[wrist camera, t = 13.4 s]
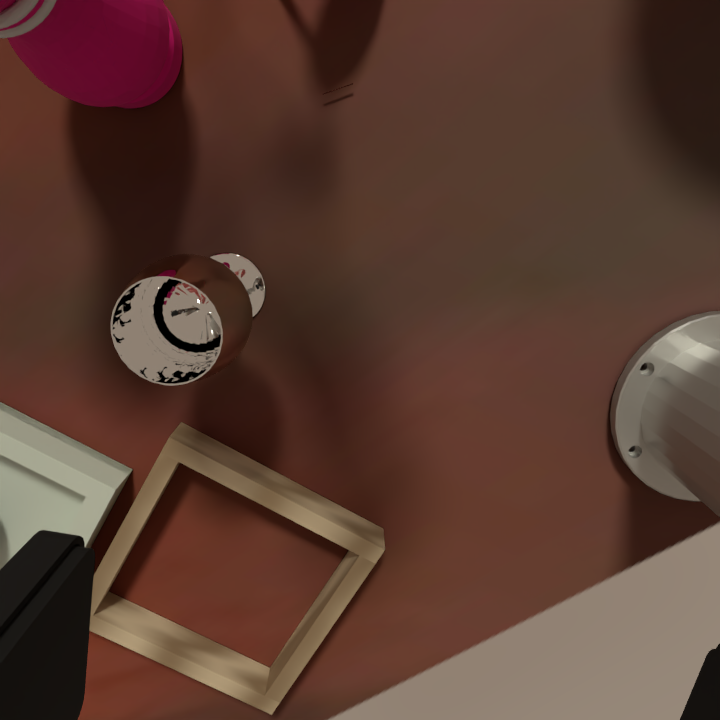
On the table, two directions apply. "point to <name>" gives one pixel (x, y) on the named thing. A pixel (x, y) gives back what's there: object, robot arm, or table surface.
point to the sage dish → (51, 483)
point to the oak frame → (199, 652)
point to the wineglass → (187, 316)
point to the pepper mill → (97, 48)
